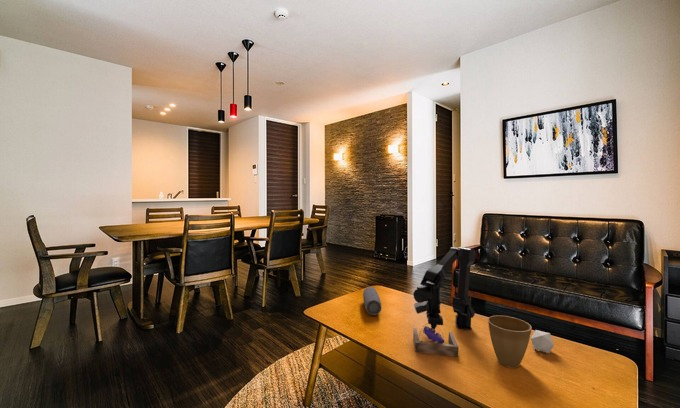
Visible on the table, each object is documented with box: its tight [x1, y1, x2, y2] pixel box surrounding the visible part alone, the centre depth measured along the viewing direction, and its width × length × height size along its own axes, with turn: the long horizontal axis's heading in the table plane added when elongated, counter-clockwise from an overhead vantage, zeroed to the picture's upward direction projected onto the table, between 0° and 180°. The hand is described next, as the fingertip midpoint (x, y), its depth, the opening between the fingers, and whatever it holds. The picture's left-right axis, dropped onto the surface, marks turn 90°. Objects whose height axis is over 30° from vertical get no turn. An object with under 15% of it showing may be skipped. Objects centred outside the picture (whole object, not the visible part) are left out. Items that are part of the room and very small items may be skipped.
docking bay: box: [412, 328, 459, 358], centre depth 127 cm, size 17×14×4 cm
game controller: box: [418, 323, 445, 344], centre depth 130 cm, size 11×9×11 cm
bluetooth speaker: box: [362, 286, 382, 316], centre depth 168 cm, size 23×9×10 cm, turn 179°
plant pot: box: [487, 315, 533, 369], centre depth 116 cm, size 15×15×16 cm
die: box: [530, 329, 555, 354], centre depth 125 cm, size 8×9×10 cm
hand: (432, 330), depth 136 cm, fingers closed
